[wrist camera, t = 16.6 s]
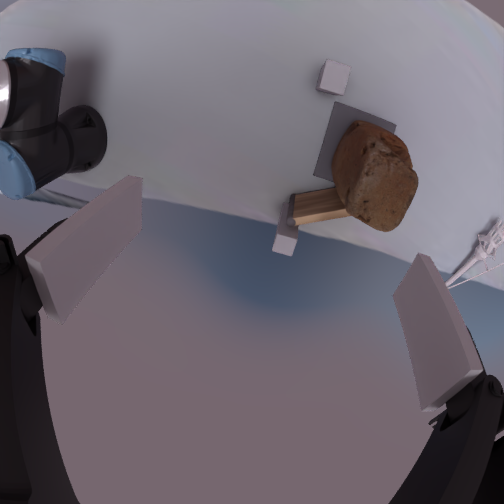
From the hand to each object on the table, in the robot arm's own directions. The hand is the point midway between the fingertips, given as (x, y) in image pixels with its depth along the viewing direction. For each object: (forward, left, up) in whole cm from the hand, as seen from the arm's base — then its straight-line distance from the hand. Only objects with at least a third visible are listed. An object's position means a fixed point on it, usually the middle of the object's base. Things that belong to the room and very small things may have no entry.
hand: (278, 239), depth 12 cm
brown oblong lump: (+10, 0, -36) cm, 38 cm away
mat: (+10, 0, -37) cm, 38 cm away
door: (+10, -8, -36) cm, 38 cm away
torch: (+43, -11, -37) cm, 58 cm away
